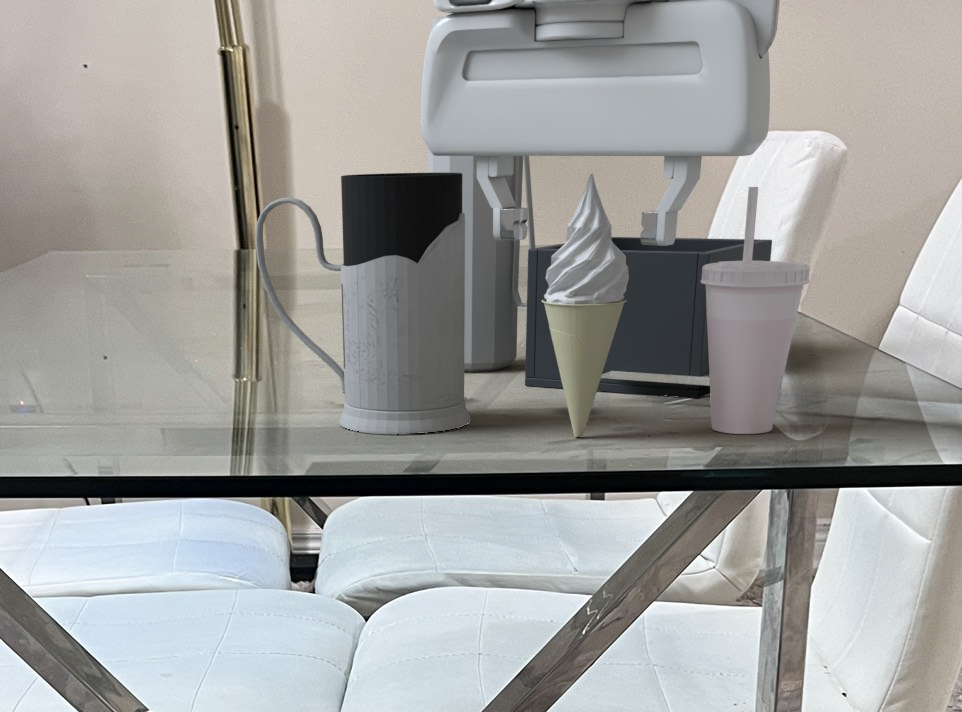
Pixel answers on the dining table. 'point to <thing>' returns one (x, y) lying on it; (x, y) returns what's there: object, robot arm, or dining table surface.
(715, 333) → the smoothie
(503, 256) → the water bottle
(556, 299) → the ice cream cone
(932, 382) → the dining table surface
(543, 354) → the open storage box
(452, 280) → the glass holder
